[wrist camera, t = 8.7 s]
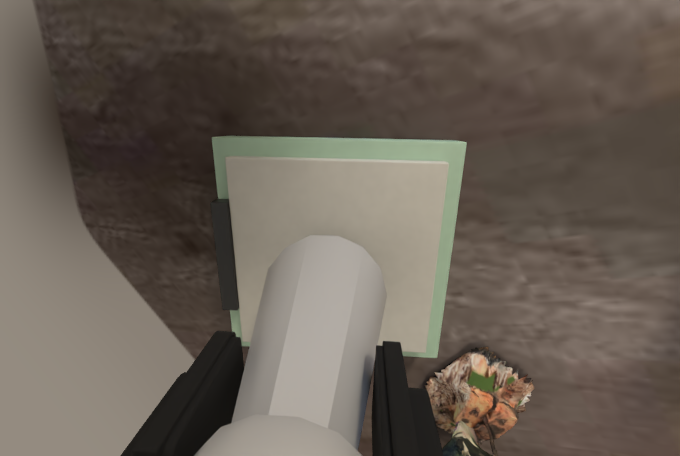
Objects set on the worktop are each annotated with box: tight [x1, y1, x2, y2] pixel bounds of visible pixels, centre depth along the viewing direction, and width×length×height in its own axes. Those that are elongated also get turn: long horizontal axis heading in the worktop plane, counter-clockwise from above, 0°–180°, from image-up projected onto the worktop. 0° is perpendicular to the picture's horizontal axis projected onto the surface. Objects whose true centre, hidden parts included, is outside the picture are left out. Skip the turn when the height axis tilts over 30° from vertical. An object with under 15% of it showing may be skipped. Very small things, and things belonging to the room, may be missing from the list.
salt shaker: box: [194, 235, 387, 456], centre depth 11 cm, size 6×6×13 cm
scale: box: [210, 136, 467, 358], centre depth 20 cm, size 14×14×3 cm
